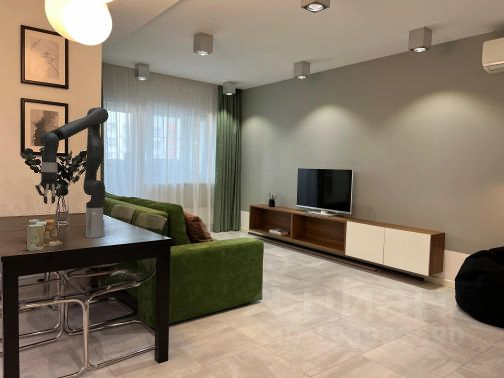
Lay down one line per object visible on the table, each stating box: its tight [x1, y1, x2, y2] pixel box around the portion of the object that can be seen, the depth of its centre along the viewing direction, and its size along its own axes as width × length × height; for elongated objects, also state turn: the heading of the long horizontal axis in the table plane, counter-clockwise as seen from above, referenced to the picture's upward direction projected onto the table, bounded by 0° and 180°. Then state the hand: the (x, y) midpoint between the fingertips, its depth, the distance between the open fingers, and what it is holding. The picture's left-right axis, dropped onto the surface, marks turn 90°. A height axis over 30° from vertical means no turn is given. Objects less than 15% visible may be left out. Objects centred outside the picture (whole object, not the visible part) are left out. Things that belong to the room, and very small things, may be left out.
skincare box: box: [26, 224, 44, 252], centre depth 183 cm, size 6×4×12 cm
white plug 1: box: [28, 218, 40, 225], centre depth 198 cm, size 5×5×7 cm
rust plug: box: [44, 219, 55, 231], centre depth 199 cm, size 5×5×7 cm
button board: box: [25, 227, 63, 248], centre depth 197 cm, size 13×17×7 cm
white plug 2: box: [36, 220, 47, 232], centre depth 192 cm, size 5×5×7 cm
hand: (49, 203), depth 198 cm, fingers open, 2 cm apart
